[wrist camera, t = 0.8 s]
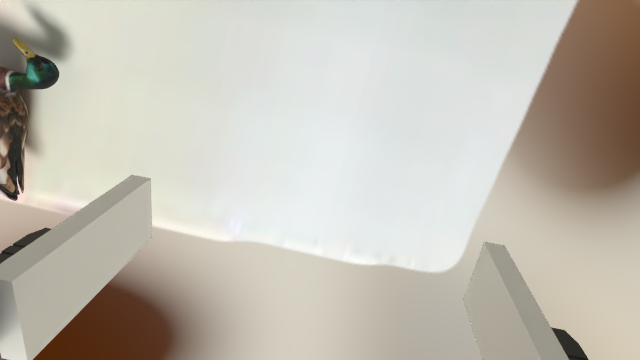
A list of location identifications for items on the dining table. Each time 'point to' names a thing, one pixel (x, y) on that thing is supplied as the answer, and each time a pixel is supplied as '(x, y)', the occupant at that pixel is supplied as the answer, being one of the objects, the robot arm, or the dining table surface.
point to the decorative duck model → (19, 115)
